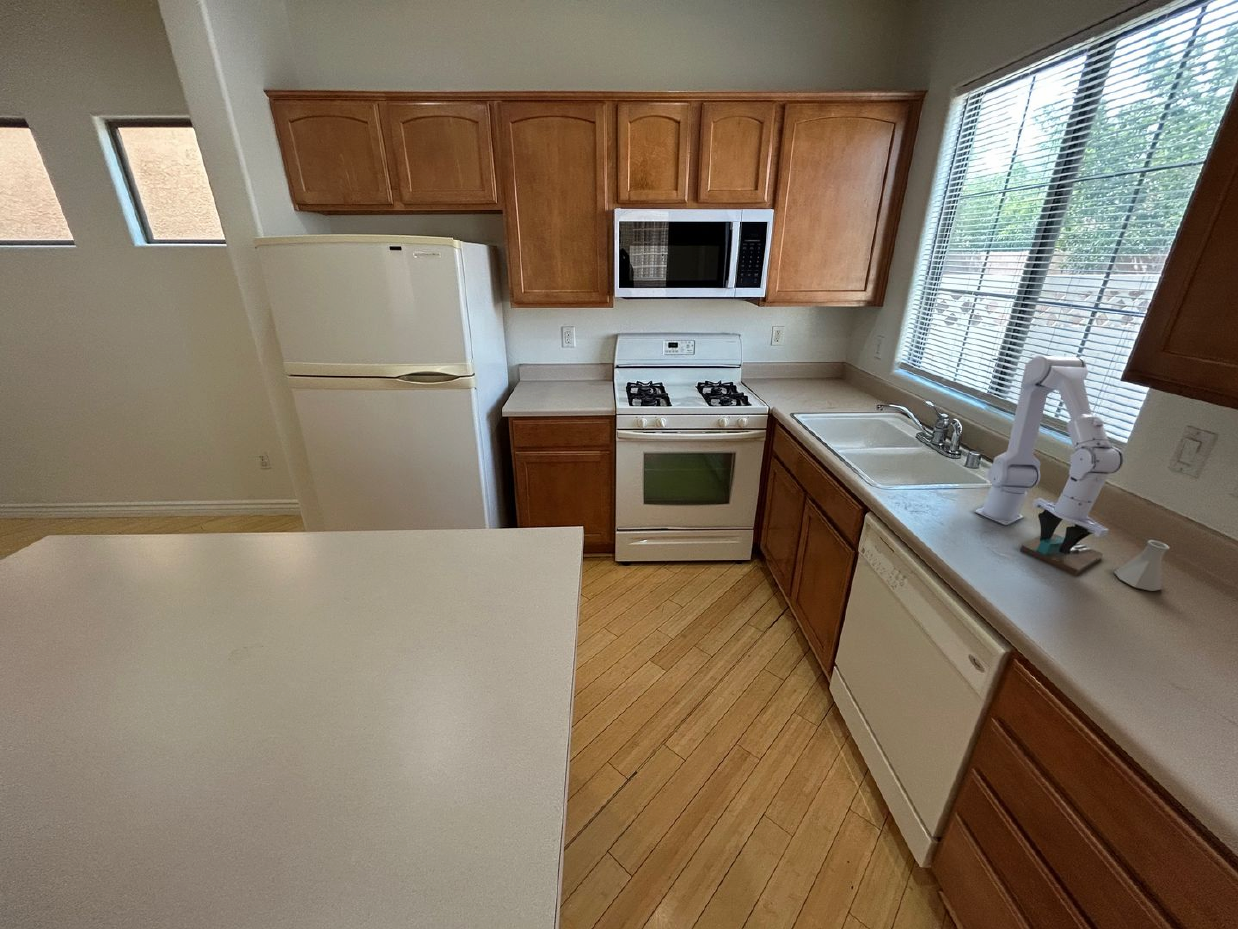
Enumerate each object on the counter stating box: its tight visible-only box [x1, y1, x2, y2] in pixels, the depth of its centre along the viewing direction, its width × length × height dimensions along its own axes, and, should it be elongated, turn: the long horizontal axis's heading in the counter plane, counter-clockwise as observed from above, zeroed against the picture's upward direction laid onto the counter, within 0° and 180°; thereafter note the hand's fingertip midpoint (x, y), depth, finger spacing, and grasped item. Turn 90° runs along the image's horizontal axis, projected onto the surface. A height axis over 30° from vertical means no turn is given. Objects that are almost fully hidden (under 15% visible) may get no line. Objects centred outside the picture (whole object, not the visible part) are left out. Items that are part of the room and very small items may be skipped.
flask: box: [1113, 539, 1171, 592], centre depth 104 cm, size 7×7×10 cm
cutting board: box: [1019, 533, 1104, 576], centre depth 115 cm, size 14×11×2 cm
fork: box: [1037, 536, 1093, 555], centre depth 114 cm, size 13×4×3 cm, turn 104°
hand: (1053, 546), depth 113 cm, fingers open, 4 cm apart
